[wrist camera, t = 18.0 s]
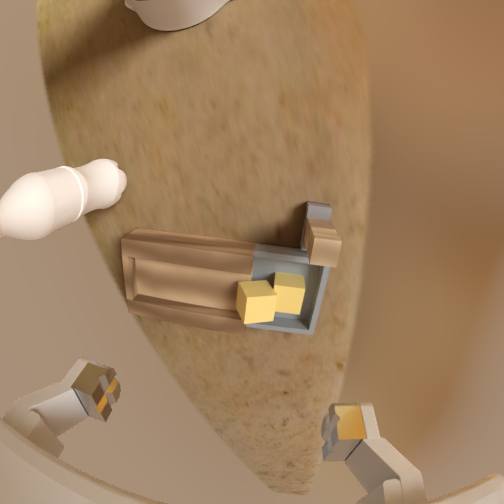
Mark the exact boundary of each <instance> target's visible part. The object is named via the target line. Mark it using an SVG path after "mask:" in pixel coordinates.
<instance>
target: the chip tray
mask: <svg viewBox="0 0 504 504" xmlns="http://www.w3.org/2000/svg"><path fill="white" fill-rule="evenodd" d="M254 257H255V259H254V267H253V276H252V281H261V280H267V281H268V283H269V284H270V285H271V287H272V288H273V284H274V277H275V272H282V273H289V274H297V275H303V276H304V283H305V293H304V297H303V302H302V306H301V311H300V315H298V314H290V313H282V312H275V314H274V319H273V321H269V322H260V323H251V324H246V327H251V328H259V329H266V330H274V331H282V332H291V333H300V334H310V335H313V333H314V329H315V326H316V322H317V318H318V314H319V311H320V307H321V303H322V299H323V295H324V291H325V287H326V282H327V278H328V274H329V269H330V267H327V266H320V265H312V264H309V259H308V254H307V251H301V249H299V248H292V247H284V246H277V245H269V244H262V243H256V246H255V250H254Z"/></svg>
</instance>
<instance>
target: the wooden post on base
mask: <svg viewBox="0 0 504 504" xmlns="http://www.w3.org/2000/svg"><path fill="white" fill-rule="evenodd" d="M331 214H332V207H331V206H330V205H329V204H323V203H317V202H310V201H307V204H306V211H305V217H304V224H303V230H302V236H301V242H300V246H301V251H307V254H308V259H309V264H312V265H320V266H327V267H335V268H336V267H337V262H338V258H339V254H340V249H341V244H342V241H341V239H340V237H339V236H338V234H337V232H336V231H335V229H334V227H333V226H332V224H331V222H330V219H331Z"/></svg>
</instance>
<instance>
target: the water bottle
mask: <svg viewBox="0 0 504 504" xmlns="http://www.w3.org/2000/svg"><path fill="white" fill-rule="evenodd" d="M118 166H119V165H118V164H117V163H116V162H115V161H113V160H109V159H98V160H94V161H92V162H90V163H88V164H86V165H84V166H81V167H77V168H71V167H67V166H61V167H58V168H55V169H50V170H45V171H41V172H37V173H29V174H26V175H24V176H22V177H21V178H19V179H18V180H16V181H15V182H14V183H13V184H12V186H11V187H10V188H9V189H8V190H7V191H6V193H5V194H4V195H3V196H2V198H1V199H0V238H2V237H11V238H15V239H20V240H27V241H35V240H40V239H43V238H45V237H46V236H48V235H49V234H50V233H52V232H54V231H56V230H58V229H60V228H62V227H64V226H66V225H69V224H72V223H73V222H75V221H76V220H77V219H78V218H80V217H81V216H83V215H84V214H86V213H88V212H90V211H93V210H96V209H106V208H108V207H110V206H112V205H114V204H115V203H116V202H118V201H119V200H120V198H121V196H122V194H121V193H122V192H123V191H124V190H125V187H126V184H127V178H126V175H125V173H124V172H123V171H122V170H120V169H118Z"/></svg>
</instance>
